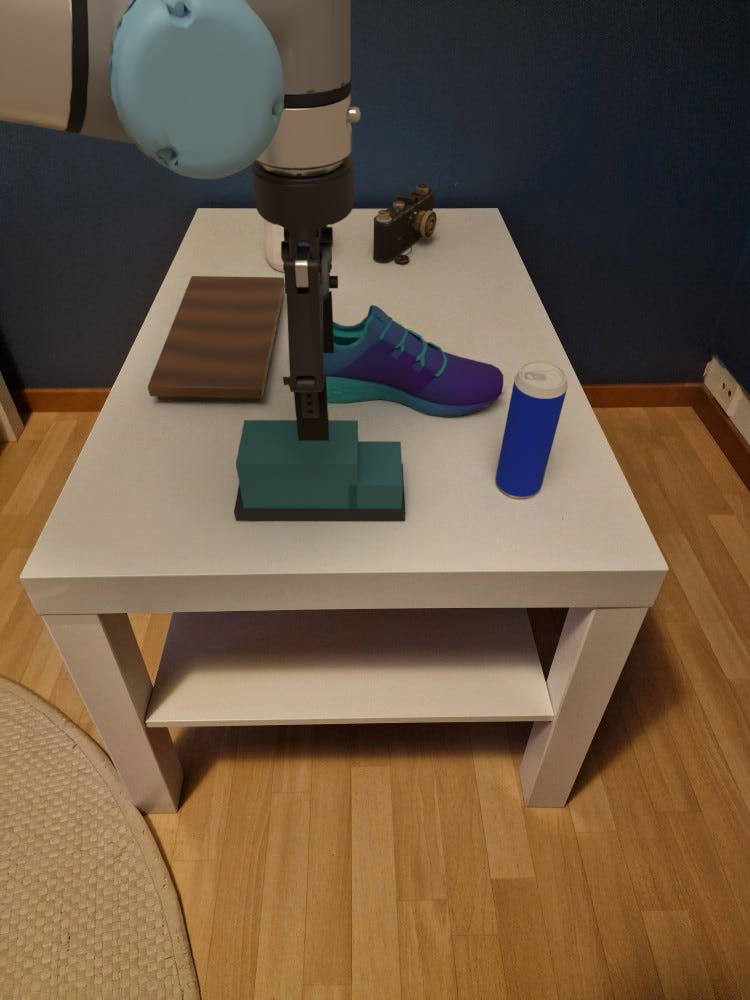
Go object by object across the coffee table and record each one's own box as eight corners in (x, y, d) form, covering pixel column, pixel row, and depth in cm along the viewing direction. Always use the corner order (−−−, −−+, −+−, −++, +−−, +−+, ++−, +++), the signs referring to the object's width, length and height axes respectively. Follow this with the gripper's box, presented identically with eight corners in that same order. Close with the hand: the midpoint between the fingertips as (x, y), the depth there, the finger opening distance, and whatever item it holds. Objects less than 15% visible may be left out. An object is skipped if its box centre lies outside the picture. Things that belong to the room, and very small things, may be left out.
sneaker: (498, 424, 85) (513, 340, 76) (292, 401, 88) (284, 317, 79) (501, 376, 92) (515, 294, 83) (310, 356, 95) (305, 275, 86)
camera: (401, 270, 112) (403, 221, 107) (367, 259, 115) (367, 211, 109) (448, 232, 122) (453, 186, 116) (416, 223, 125) (418, 178, 119)
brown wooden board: (194, 293, 106) (191, 275, 104) (285, 295, 106) (284, 277, 104) (152, 406, 87) (147, 386, 84) (263, 407, 87) (261, 388, 84)
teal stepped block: (235, 521, 73) (224, 465, 67) (244, 472, 78) (235, 417, 73) (404, 521, 73) (408, 466, 68) (402, 473, 79) (405, 418, 73)
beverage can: (537, 469, 79) (564, 359, 69) (543, 501, 76) (574, 391, 65) (492, 468, 79) (512, 358, 69) (497, 500, 76) (519, 389, 65)
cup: (336, 269, 112) (334, 209, 105) (278, 281, 109) (272, 220, 102) (315, 244, 118) (312, 186, 111) (259, 255, 115) (253, 196, 108)
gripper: (350, 233, 42) (355, 482, 57) (354, 103, 59) (357, 321, 74) (226, 233, 42) (265, 482, 57) (267, 103, 59) (288, 321, 74)
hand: (317, 391), depth 66 cm, fingers open, 13 cm apart
